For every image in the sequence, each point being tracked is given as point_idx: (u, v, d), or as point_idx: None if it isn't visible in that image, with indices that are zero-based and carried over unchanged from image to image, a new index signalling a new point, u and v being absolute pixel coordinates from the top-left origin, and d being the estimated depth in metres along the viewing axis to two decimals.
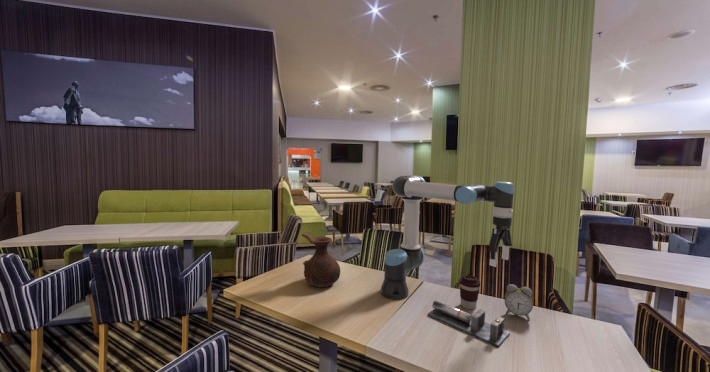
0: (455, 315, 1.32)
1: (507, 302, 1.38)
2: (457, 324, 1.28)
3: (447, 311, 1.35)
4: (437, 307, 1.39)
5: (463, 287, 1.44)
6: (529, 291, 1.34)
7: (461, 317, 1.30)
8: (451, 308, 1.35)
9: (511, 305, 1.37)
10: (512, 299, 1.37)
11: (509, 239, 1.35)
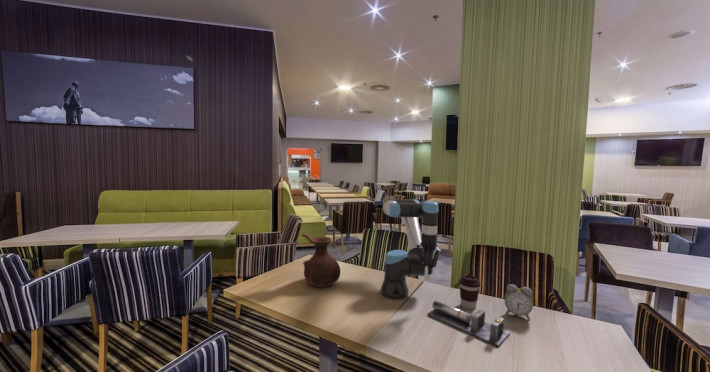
0: (455, 315, 1.32)
1: (507, 302, 1.38)
2: (457, 324, 1.28)
3: (447, 311, 1.35)
4: (437, 307, 1.39)
5: (463, 287, 1.44)
6: (529, 291, 1.34)
7: (461, 317, 1.30)
8: (451, 308, 1.35)
9: (511, 305, 1.37)
10: (512, 299, 1.37)
11: (432, 262, 1.40)
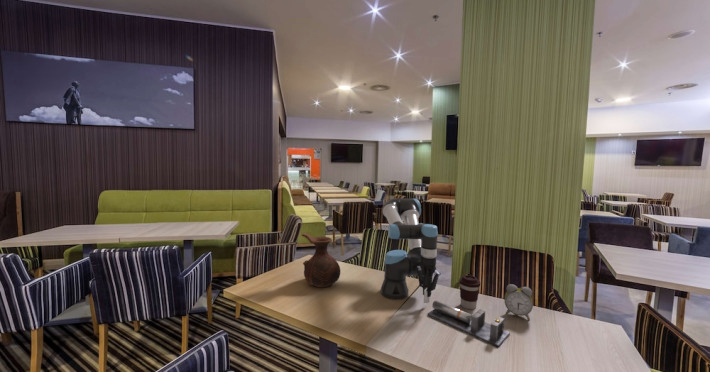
0: (455, 315, 1.32)
1: (507, 302, 1.38)
2: (457, 324, 1.28)
3: (447, 311, 1.35)
4: (437, 307, 1.39)
5: (463, 287, 1.44)
6: (529, 291, 1.34)
7: (461, 317, 1.30)
8: (451, 308, 1.35)
9: (511, 305, 1.37)
10: (511, 299, 1.37)
11: (431, 285, 1.41)
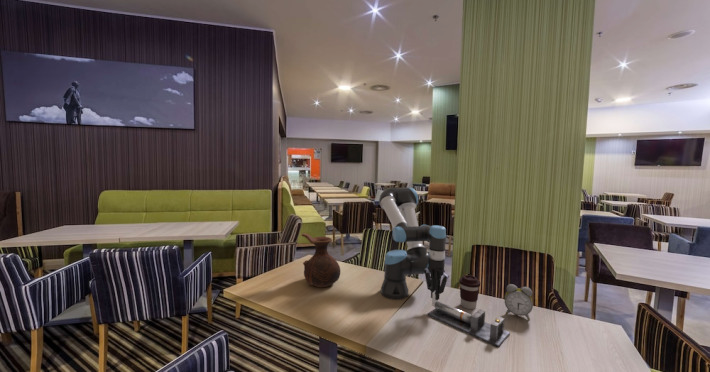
0: (458, 316, 1.31)
1: (507, 302, 1.38)
2: (457, 324, 1.28)
3: (449, 312, 1.34)
4: (439, 308, 1.38)
5: (463, 287, 1.44)
6: (529, 291, 1.34)
7: (464, 318, 1.29)
8: (453, 309, 1.34)
9: (511, 305, 1.37)
10: (512, 299, 1.37)
11: (440, 287, 1.38)
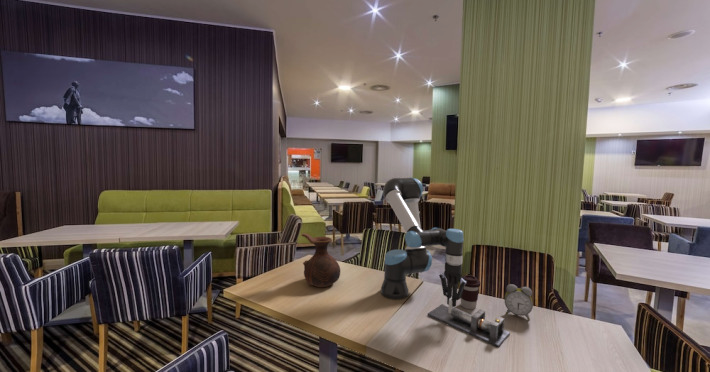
0: None
1: (507, 302, 1.38)
2: (457, 324, 1.28)
3: (467, 320, 1.28)
4: (456, 315, 1.32)
5: None
6: (529, 291, 1.34)
7: (483, 326, 1.23)
8: None
9: (511, 305, 1.37)
10: (511, 299, 1.37)
11: (457, 294, 1.32)
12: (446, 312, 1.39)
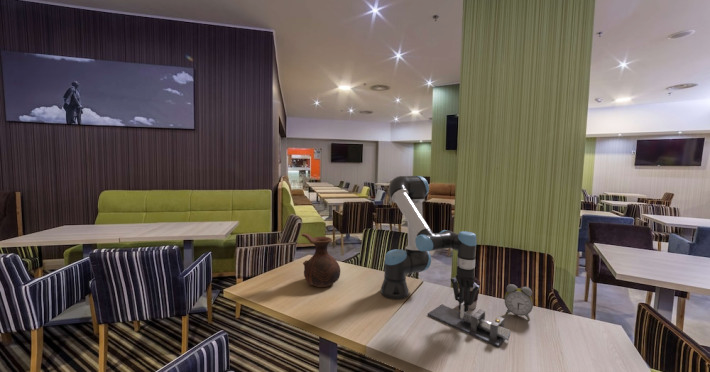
0: None
1: (507, 302, 1.38)
2: (457, 324, 1.28)
3: (480, 325, 1.24)
4: (469, 320, 1.27)
5: None
6: (529, 291, 1.34)
7: None
8: (485, 322, 1.23)
9: (511, 305, 1.37)
10: (511, 299, 1.37)
11: None
12: (446, 312, 1.39)
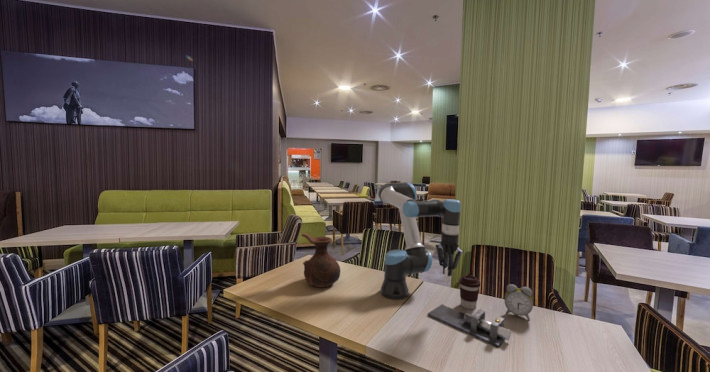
0: None
1: (507, 302, 1.38)
2: (457, 324, 1.28)
3: (481, 325, 1.24)
4: (469, 321, 1.27)
5: (463, 287, 1.44)
6: (529, 291, 1.34)
7: (498, 332, 1.19)
8: (485, 322, 1.23)
9: (511, 305, 1.37)
10: (512, 299, 1.37)
11: (453, 263, 1.33)
12: (446, 312, 1.39)
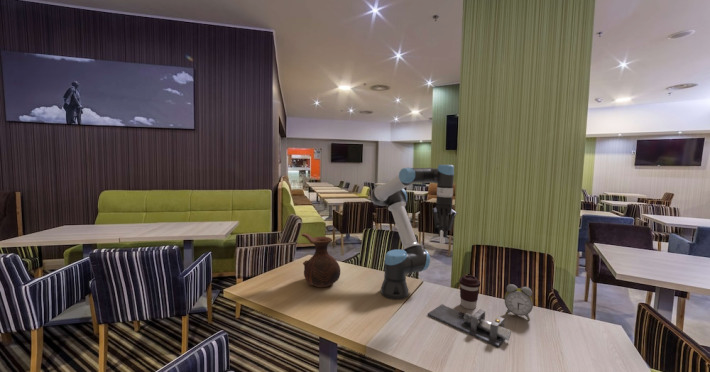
0: None
1: (507, 302, 1.38)
2: (457, 324, 1.28)
3: (481, 325, 1.24)
4: (469, 321, 1.27)
5: (463, 287, 1.44)
6: (529, 291, 1.34)
7: (498, 332, 1.19)
8: (485, 322, 1.23)
9: (511, 305, 1.37)
10: (512, 299, 1.37)
11: (448, 224, 1.40)
12: (446, 312, 1.39)
